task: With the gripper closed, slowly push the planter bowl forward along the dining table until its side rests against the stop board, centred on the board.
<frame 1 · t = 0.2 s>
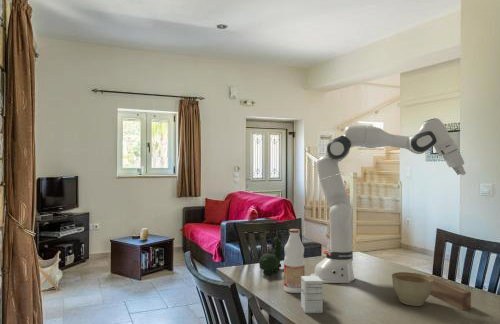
hand: (461, 174, 190), 54 cm above the table, tool tilted 30°, fingers open, 8 cm apart
green shrub: (271, 272, 216), on the table
planter bowl: (411, 303, 170), on the table
supplement box: (311, 310, 160), on the table
fruit juice: (294, 290, 185), on the table
stop board: (446, 300, 173), on the table
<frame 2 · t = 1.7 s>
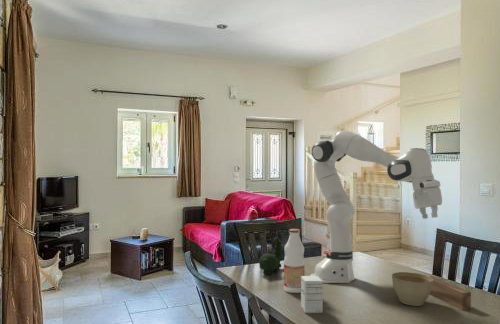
hand: (429, 218, 167), 36 cm above the table, tool pointing down, fingers open, 8 cm apart
nothing on the table moved.
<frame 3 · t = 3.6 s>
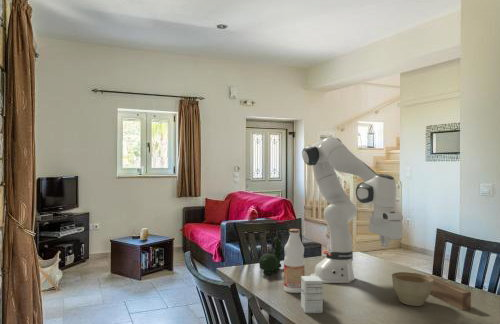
hand: (384, 246, 167), 24 cm above the table, tool pointing down, fingers closed
nothing on the table moved.
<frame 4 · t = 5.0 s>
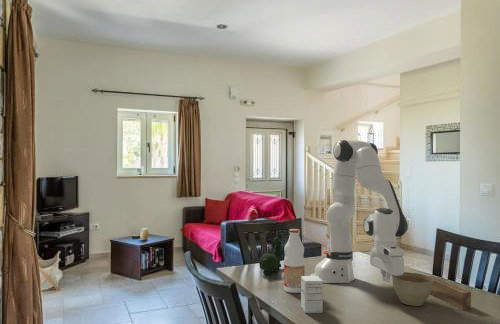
hand: (386, 281, 167), 10 cm above the table, tool pointing down, fingers closed
nothing on the table moved.
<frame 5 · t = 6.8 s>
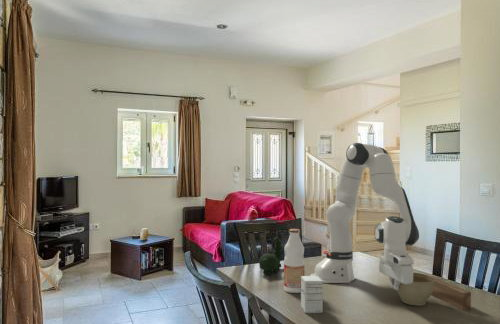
hand: (394, 289, 168), 6 cm above the table, tool pointing down, fingers closed, pressing on planter bowl
planter bowl: (413, 302, 170), on the table, touching gripper
everything else where it was.
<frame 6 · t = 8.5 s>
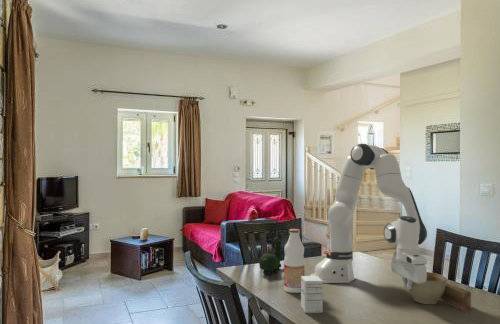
hand: (407, 288, 169), 6 cm above the table, tool pointing down, fingers closed
planter bowl: (425, 301, 172), on the table, touching gripper
everything else where it was.
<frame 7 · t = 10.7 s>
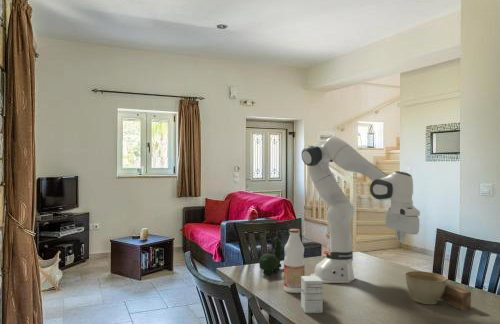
hand: (400, 241, 173), 25 cm above the table, tool pointing down, fingers closed
planter bowl: (425, 301, 172), on the table
everything else where it was.
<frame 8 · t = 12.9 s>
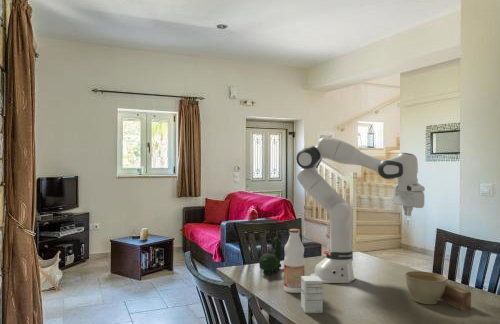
hand: (407, 215, 192), 34 cm above the table, tool pointing down, fingers closed
nothing on the table moved.
at the end: planter bowl 0.6 cm from the target spot on the table beside the stop board, on the table; planter bowl tilted 0° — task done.
